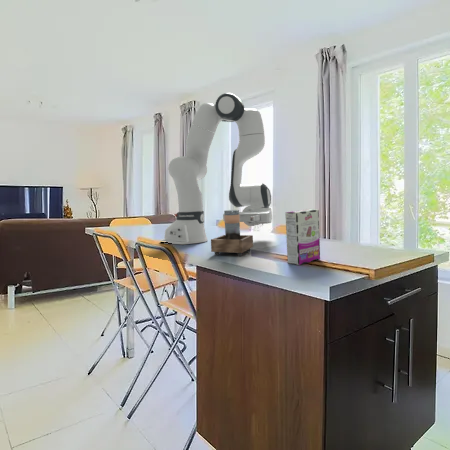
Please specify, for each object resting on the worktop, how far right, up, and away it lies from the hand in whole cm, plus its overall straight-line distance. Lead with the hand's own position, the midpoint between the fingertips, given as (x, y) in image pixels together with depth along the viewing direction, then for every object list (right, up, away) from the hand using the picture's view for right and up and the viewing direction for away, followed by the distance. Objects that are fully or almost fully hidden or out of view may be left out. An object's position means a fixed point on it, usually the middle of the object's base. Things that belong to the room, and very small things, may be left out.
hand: (240, 218), depth 142 cm
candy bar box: (+19, -14, -27) cm, 36 cm away
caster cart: (-3, -13, -8) cm, 15 cm away
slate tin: (-3, -10, -8) cm, 13 cm away
